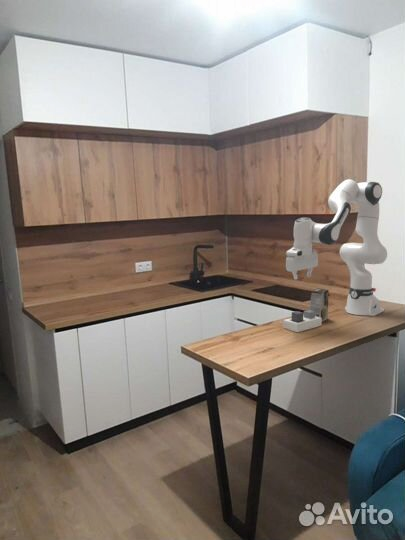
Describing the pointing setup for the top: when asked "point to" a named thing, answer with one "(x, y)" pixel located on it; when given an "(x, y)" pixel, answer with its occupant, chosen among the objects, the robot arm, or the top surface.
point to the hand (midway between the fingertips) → (302, 277)
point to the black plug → (297, 316)
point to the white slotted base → (307, 323)
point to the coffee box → (319, 303)
